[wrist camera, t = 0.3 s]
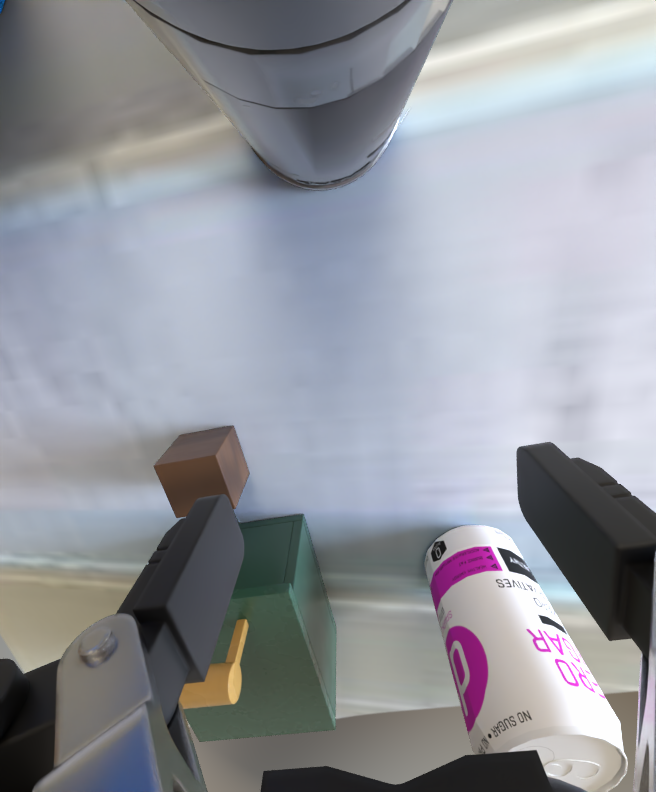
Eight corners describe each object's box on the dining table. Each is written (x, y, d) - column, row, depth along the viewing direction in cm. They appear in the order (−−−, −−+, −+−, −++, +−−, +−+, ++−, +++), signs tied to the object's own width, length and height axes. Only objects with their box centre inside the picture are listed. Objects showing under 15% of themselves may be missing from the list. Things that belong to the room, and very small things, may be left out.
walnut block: (179, 434, 30) (152, 465, 26) (233, 425, 29) (215, 455, 25) (198, 481, 31) (176, 518, 27) (249, 473, 31) (235, 509, 27)
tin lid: (131, 602, 26) (79, 691, 21) (290, 581, 25) (277, 670, 20) (202, 730, 32) (175, 825, 26) (335, 718, 30) (334, 815, 25)
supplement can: (415, 583, 35) (464, 804, 21) (433, 514, 32) (505, 719, 18) (499, 592, 35) (603, 818, 21) (526, 524, 32) (668, 735, 18)
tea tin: (180, 532, 34) (136, 610, 26) (303, 513, 32) (293, 589, 25) (228, 640, 39) (202, 729, 32) (336, 627, 38) (335, 717, 30)
